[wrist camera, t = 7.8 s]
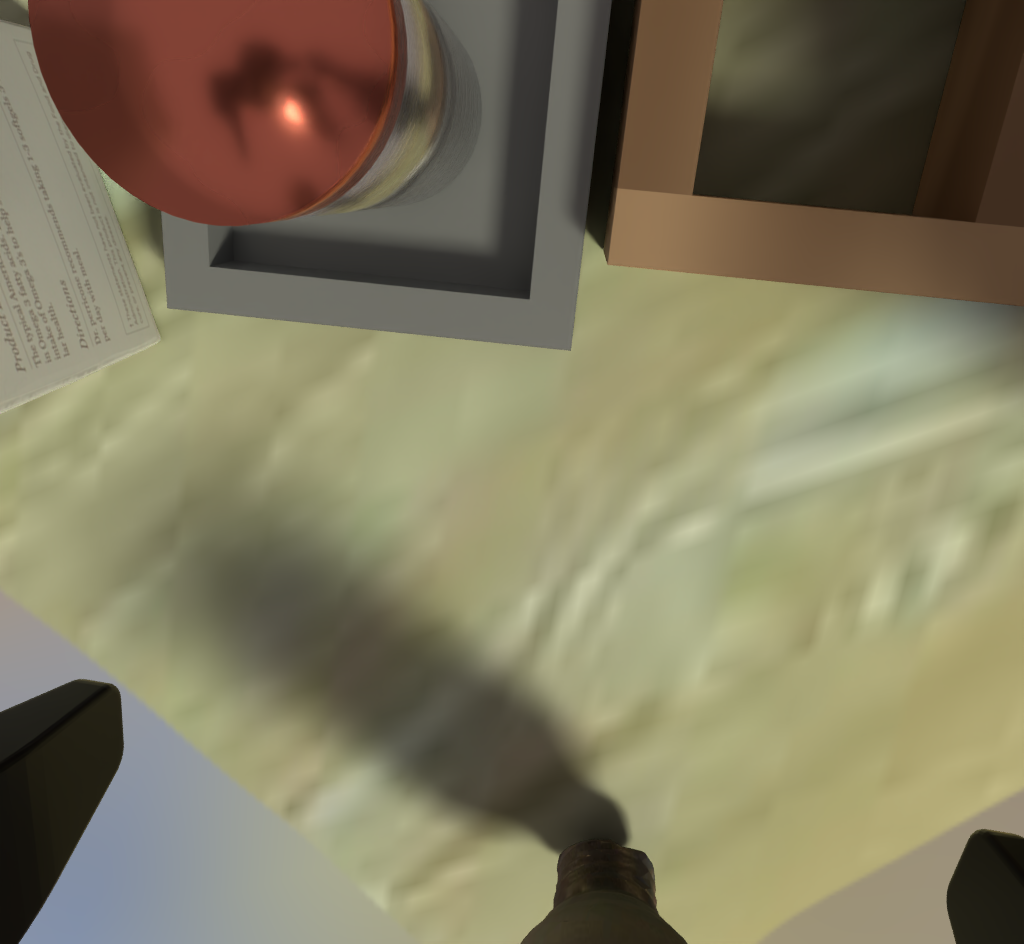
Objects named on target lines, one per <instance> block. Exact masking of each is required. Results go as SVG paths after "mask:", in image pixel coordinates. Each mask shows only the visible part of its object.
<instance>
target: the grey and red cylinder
mask: <svg viewBox="0 0 1024 944" xmlns="http://www.w3.org/2000/svg"><path fill="white" fill-rule="evenodd" d="M28 9H29V22H30V28H31V34H32V40H33V46H34V49H35V53H36V56H37V60H38V64H39V67H40V71H41V74H42V76H43V79H44V81H45V84H46V86H47V89H48V91H49V94H50V96H51V98H52V100H53V102H54V104H55V106H56V108H57V110H58V112H59V114H60V116H61V118H62V119H63V121H64V123H65V124H66V126H67V127H68V129H69V130H70V132H71V133H72V135H73V136H74V138H75V139H76V141H77V142H78V143H79V145H80V146H81V147H82V148H83V149H84V151H85V152H86V153H87V154H88V155H89V157H90V158H91V159H92V160H93V162H95V163H96V164H97V165H98V166H99V167H100V168H101V169H102V170H103V171H104V172H105V173H106V174H107V175H108V176H109V177H110V178H111V179H112V180H113V181H115V182H116V183H117V184H119V185H120V186H121V187H123V188H124V189H125V190H126V191H128V192H129V193H130V194H132V195H133V196H135V197H137V198H138V199H140V200H142V201H143V202H145V203H147V204H148V205H150V206H152V207H154V208H156V209H159V210H161V211H163V212H165V213H168V214H170V215H172V216H175V217H179V218H182V219H185V220H189V221H192V222H196V223H202V224H209V225H215V226H243V225H251V224H260V223H268V222H275V221H283V220H291V219H299V218H307V217H315V216H323V215H330V214H338V213H346V212H354V211H362V210H370V209H378V208H385V207H393V206H401V205H409V204H413V203H417V202H421V201H423V200H425V199H428V198H430V197H432V196H434V195H436V194H437V193H439V192H441V191H442V190H443V189H445V188H446V187H447V186H448V185H449V184H451V183H452V182H453V181H454V180H455V178H456V177H457V176H458V175H459V174H460V173H461V171H462V170H463V169H464V167H465V166H466V164H467V163H468V161H469V159H470V157H471V155H472V153H473V151H474V148H475V145H476V143H477V140H478V136H479V132H480V127H481V119H482V98H481V90H480V85H479V81H478V76H477V73H476V71H475V68H474V65H473V62H472V60H471V58H470V56H469V55H468V53H467V51H466V49H465V48H464V46H463V45H462V43H461V42H460V40H459V39H458V38H457V36H456V35H455V34H454V33H453V31H452V30H451V29H450V28H449V26H448V25H447V24H446V23H445V22H444V20H443V19H442V18H441V17H440V15H439V14H438V13H437V12H436V10H435V9H434V8H433V7H432V6H431V4H430V3H429V2H428V1H427V0H28Z"/></svg>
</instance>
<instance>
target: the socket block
mask: <svg viewBox="0 0 1024 944" xmlns="http://www.w3.org/2000/svg"><path fill="white" fill-rule="evenodd" d="M723 1H724V0H635V4H634V12H633V20H632V28H631V36H630V44H629V52H628V60H627V68H626V76H625V84H624V92H623V100H622V108H621V116H620V123H619V131H618V139H617V147H616V155H615V163H614V171H613V179H612V187H611V195H610V203H609V211H608V219H607V227H606V235H605V243H604V250H603V251H604V254H605V257H606V261H607V264H608V265H617V266H627V267H637V268H647V269H657V270H667V271H676V272H686V273H696V274H706V275H716V276H726V277H736V278H746V279H756V280H766V281H776V282H786V283H796V284H806V285H816V286H826V287H836V288H846V289H856V290H866V291H876V292H886V293H896V294H906V295H916V296H926V297H936V298H946V299H956V300H966V301H976V302H986V303H996V304H1005V305H1015V306H1024V0H967V1H966V5H965V9H964V13H963V17H962V21H961V25H960V28H959V32H958V36H957V40H956V44H955V48H954V52H953V56H952V60H951V64H950V68H949V72H948V75H947V79H946V83H945V87H944V91H943V95H942V99H941V103H940V107H939V111H938V115H937V118H936V122H935V126H934V130H933V134H932V138H931V142H930V146H929V150H928V154H927V158H926V162H925V165H924V169H923V173H922V177H921V181H920V185H919V189H918V193H917V197H916V201H915V205H914V209H913V212H912V215H906V214H895V213H885V212H874V211H864V210H854V209H843V208H833V207H822V206H812V205H802V204H791V203H781V202H770V201H760V200H750V199H739V198H729V197H718V196H708V195H697V194H693V188H694V181H695V175H696V169H697V163H698V156H699V150H700V144H701V138H702V132H703V125H704V119H705V113H706V107H707V100H708V94H709V88H710V82H711V75H712V69H713V63H714V57H715V51H716V44H717V38H718V32H719V26H720V19H721V13H722V7H723Z"/></svg>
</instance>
